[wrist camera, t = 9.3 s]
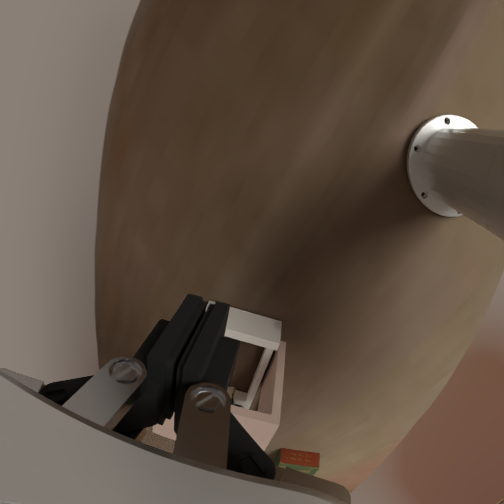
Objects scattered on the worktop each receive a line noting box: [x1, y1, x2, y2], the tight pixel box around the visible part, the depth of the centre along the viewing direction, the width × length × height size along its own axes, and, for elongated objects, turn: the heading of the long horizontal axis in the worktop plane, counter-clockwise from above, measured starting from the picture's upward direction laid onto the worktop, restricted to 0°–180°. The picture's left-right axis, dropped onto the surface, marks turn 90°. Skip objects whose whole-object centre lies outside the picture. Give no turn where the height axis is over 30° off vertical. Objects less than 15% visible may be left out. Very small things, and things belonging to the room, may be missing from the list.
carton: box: [273, 448, 320, 476], centre depth 55 cm, size 8×16×4 cm, turn 168°
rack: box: [206, 300, 282, 409], centre depth 46 cm, size 10×26×5 cm, turn 165°
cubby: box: [153, 341, 286, 451], centre depth 39 cm, size 14×9×15 cm, turn 75°
